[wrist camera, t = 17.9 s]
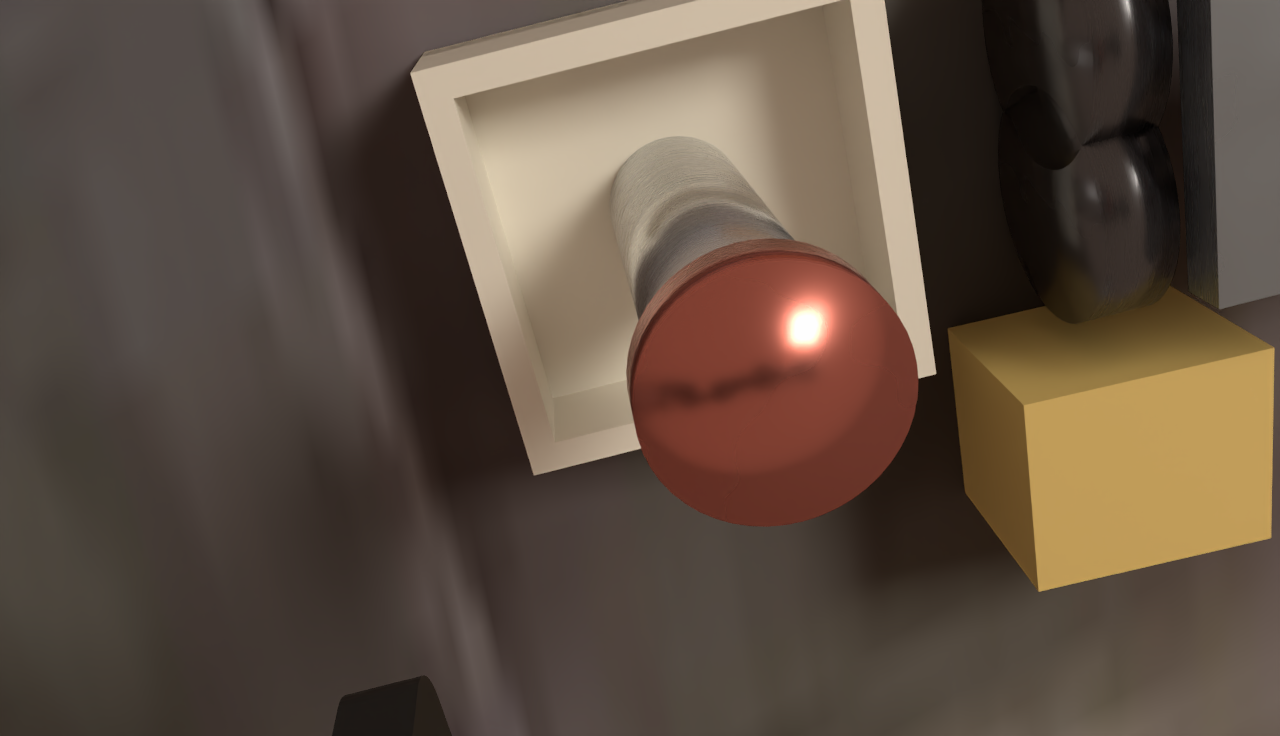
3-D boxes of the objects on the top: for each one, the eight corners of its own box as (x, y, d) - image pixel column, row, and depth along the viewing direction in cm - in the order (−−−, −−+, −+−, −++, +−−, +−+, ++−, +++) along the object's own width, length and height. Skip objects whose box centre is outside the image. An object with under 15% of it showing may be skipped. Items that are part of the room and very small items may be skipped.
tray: (533, 413, 26) (534, 475, 23) (424, 51, 22) (410, 72, 20) (892, 323, 26) (936, 374, 23) (834, -52, 22) (878, -46, 20)
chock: (963, 490, 28) (1038, 591, 24) (946, 327, 26) (1023, 405, 22) (1162, 445, 28) (1271, 537, 24) (1157, 278, 26) (1274, 347, 22)
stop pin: (613, 305, 24) (669, 556, 15) (569, 141, 23) (601, 304, 13) (778, 263, 24) (936, 486, 15) (744, 96, 23) (895, 227, 13)
